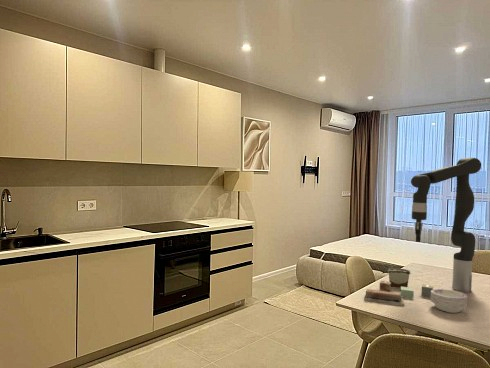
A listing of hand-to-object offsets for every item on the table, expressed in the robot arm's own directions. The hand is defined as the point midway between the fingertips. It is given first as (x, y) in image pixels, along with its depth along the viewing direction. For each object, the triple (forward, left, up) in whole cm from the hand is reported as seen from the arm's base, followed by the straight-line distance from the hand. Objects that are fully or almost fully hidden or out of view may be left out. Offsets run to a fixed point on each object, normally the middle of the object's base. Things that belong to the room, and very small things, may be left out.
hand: (418, 241), depth 199 cm
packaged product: (+12, +30, -28) cm, 43 cm away
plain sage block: (+3, +15, -27) cm, 31 cm away
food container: (+10, -1, -27) cm, 29 cm away
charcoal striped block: (-6, +7, -27) cm, 29 cm away
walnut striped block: (+14, +14, -27) cm, 34 cm away
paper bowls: (-16, +25, -27) cm, 40 cm away
